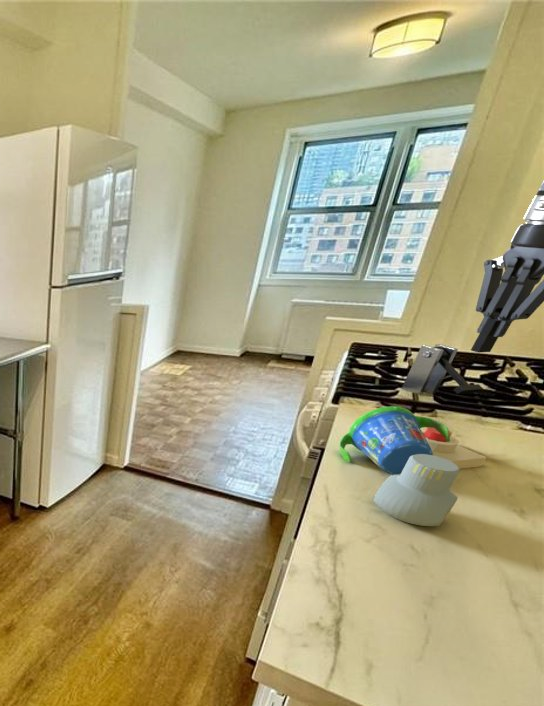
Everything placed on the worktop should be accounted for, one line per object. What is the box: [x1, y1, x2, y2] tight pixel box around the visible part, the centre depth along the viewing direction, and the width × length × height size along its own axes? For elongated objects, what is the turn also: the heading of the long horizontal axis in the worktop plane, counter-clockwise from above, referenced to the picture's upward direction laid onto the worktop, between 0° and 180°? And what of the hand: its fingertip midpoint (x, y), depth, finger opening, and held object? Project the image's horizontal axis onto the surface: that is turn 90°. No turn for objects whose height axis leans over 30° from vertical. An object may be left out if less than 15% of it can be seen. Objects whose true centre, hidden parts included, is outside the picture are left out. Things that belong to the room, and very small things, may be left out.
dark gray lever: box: [433, 346, 484, 395], centre depth 115 cm, size 13×6×2 cm
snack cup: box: [339, 406, 450, 475], centre depth 91 cm, size 16×10×10 cm
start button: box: [424, 427, 453, 442], centre depth 95 cm, size 4×4×2 cm
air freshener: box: [373, 454, 461, 527], centre depth 77 cm, size 11×8×10 cm
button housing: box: [421, 429, 487, 470], centre depth 96 cm, size 12×10×4 cm
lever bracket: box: [401, 343, 459, 396], centre depth 120 cm, size 12×9×13 cm
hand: (480, 351), depth 98 cm, fingers closed
